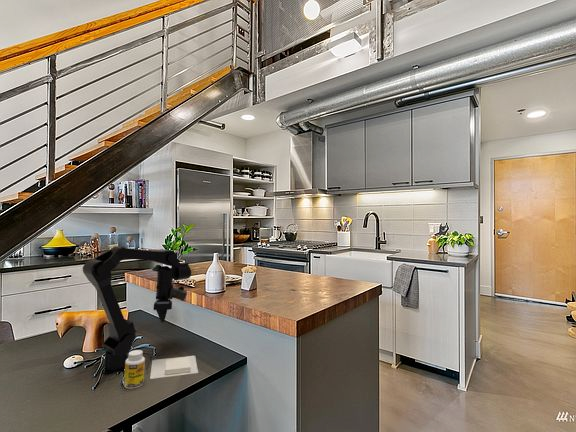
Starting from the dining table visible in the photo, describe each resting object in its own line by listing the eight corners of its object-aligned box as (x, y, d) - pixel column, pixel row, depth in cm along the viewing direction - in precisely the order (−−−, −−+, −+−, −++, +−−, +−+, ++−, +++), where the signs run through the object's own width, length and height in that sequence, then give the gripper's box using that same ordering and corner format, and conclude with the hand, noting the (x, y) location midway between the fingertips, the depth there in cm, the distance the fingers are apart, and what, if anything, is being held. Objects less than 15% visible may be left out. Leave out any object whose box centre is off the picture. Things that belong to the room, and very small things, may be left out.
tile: (165, 364, 111) (165, 375, 104) (165, 359, 111) (165, 370, 104) (188, 361, 114) (190, 372, 106) (189, 357, 114) (190, 367, 106)
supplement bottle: (124, 391, 94) (126, 357, 94) (122, 383, 98) (124, 350, 98) (145, 387, 97) (146, 354, 97) (142, 379, 101) (143, 347, 101)
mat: (150, 380, 101) (150, 378, 101) (152, 361, 114) (152, 360, 114) (198, 373, 106) (198, 372, 106) (195, 356, 119) (195, 355, 119)
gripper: (187, 286, 116) (184, 328, 115) (185, 277, 133) (183, 314, 133) (154, 287, 112) (152, 330, 112) (157, 277, 130) (155, 315, 129)
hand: (162, 322), depth 121 cm, fingers closed
